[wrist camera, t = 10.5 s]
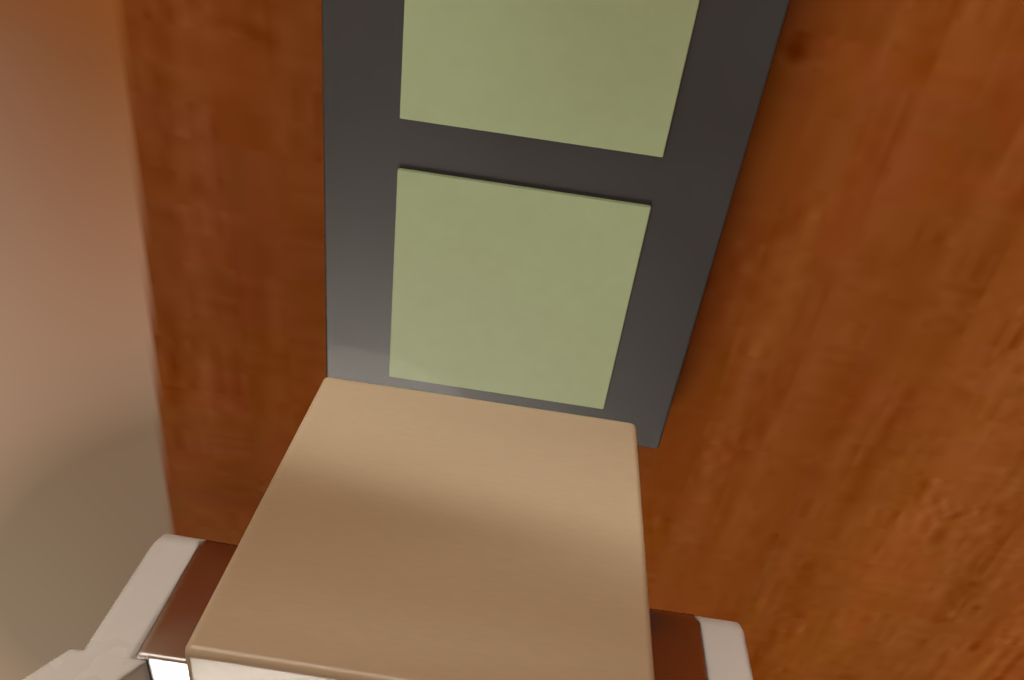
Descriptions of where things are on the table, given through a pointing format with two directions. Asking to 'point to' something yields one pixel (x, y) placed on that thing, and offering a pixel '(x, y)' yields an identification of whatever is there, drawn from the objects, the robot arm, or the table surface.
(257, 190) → the table surface
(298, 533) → the tile
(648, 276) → the dark grey flat block
